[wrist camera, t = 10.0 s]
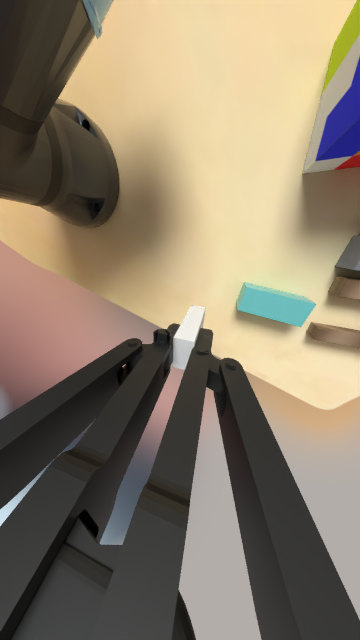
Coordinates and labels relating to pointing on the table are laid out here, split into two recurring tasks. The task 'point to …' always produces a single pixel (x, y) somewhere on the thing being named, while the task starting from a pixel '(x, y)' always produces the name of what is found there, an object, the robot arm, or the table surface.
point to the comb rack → (332, 333)
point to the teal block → (274, 304)
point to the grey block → (351, 255)
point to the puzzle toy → (339, 105)
